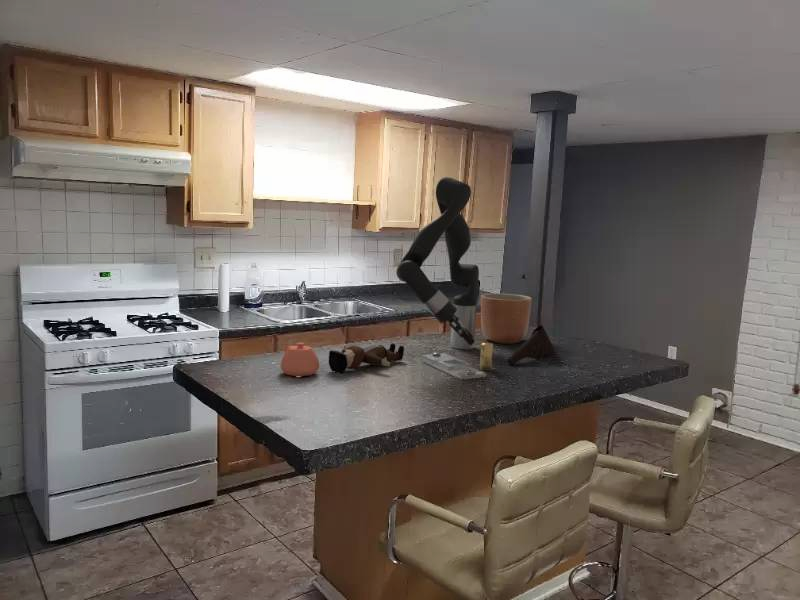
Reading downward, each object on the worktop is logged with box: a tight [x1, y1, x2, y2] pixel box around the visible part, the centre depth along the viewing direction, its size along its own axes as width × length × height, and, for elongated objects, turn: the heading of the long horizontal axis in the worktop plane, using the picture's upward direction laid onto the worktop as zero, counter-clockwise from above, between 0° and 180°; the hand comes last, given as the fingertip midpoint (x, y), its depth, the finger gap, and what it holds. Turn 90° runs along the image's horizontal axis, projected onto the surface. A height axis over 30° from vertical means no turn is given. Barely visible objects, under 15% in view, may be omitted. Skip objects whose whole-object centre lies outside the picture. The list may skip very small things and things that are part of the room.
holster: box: [507, 324, 557, 366], centre depth 235 cm, size 5×16×25 cm
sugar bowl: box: [280, 342, 320, 377], centre depth 203 cm, size 12×14×10 cm
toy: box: [328, 343, 405, 375], centre depth 216 cm, size 24×10×30 cm
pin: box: [479, 342, 494, 371], centre depth 218 cm, size 4×4×9 cm
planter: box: [480, 292, 532, 345], centre depth 267 cm, size 21×21×19 cm
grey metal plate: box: [421, 351, 487, 381], centre depth 217 cm, size 26×10×3 cm, turn 28°
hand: (472, 341), depth 217 cm, fingers open, 8 cm apart
